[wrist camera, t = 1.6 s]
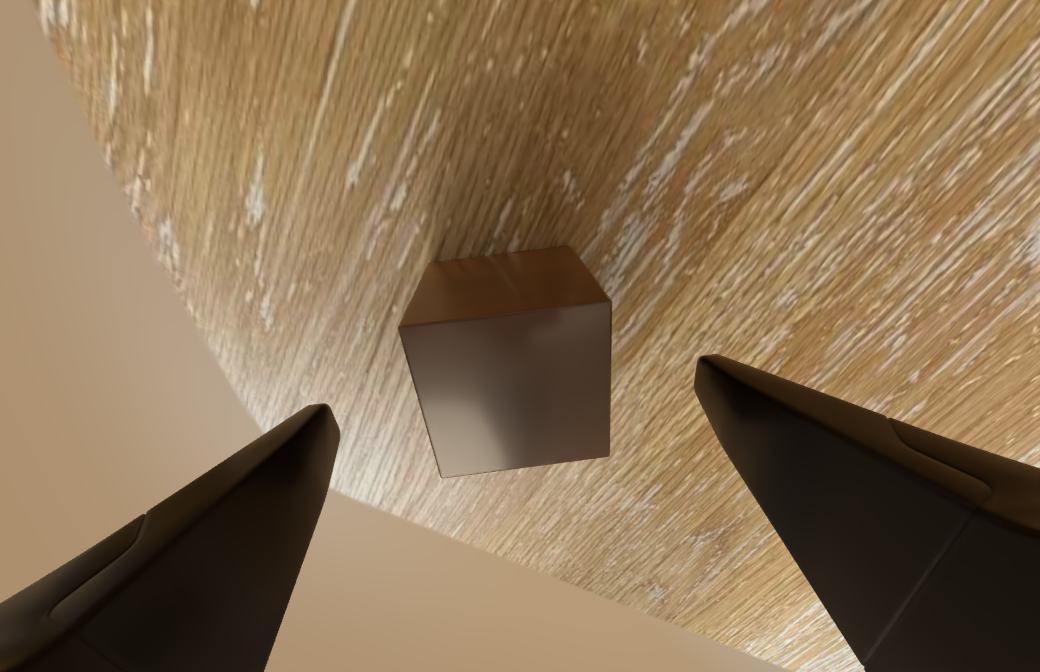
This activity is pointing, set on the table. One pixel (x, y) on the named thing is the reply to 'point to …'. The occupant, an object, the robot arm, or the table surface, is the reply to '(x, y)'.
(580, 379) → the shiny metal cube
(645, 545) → the table surface
